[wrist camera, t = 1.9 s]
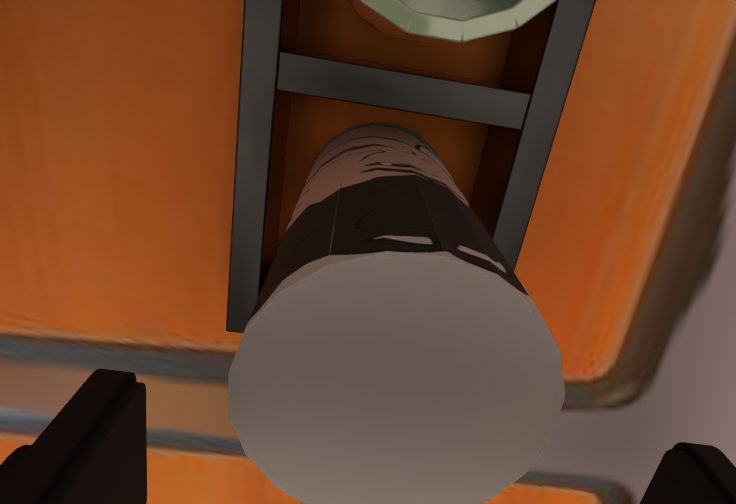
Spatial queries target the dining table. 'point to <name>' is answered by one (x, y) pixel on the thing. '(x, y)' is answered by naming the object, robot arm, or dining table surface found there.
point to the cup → (392, 340)
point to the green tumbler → (447, 17)
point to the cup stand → (400, 92)
